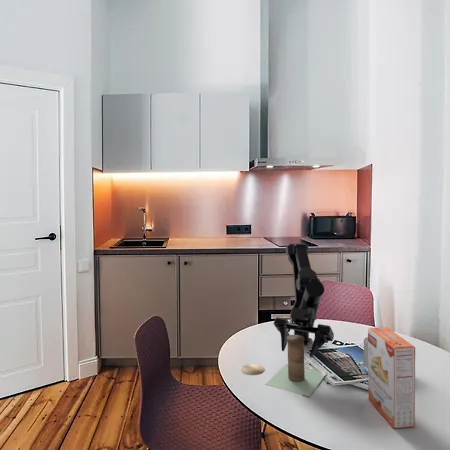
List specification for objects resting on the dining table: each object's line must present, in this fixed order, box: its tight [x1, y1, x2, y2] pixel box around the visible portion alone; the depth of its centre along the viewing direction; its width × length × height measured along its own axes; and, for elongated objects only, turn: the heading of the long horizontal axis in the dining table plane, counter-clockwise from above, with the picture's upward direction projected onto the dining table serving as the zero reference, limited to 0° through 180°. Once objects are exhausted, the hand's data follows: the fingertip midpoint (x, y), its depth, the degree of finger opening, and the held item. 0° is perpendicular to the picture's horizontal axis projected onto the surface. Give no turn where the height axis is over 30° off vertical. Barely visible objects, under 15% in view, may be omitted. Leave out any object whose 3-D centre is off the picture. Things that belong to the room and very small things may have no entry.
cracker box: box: [367, 326, 416, 430], centre depth 102 cm, size 14×6×21 cm, turn 5°
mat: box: [264, 363, 325, 398], centre depth 122 cm, size 16×14×1 cm
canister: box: [287, 334, 305, 382], centre depth 121 cm, size 5×5×13 cm
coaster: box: [240, 363, 266, 376], centre depth 129 cm, size 8×8×1 cm
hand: (296, 353), depth 121 cm, fingers open, 9 cm apart
